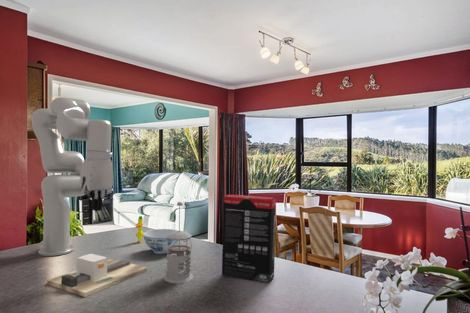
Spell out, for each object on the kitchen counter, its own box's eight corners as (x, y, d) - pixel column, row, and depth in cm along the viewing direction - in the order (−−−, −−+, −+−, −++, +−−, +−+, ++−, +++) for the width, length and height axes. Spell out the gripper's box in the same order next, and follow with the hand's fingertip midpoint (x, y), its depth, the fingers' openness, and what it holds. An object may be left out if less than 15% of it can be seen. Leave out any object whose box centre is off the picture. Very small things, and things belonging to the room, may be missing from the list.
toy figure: (140, 244, 142) (140, 218, 143) (132, 244, 143) (132, 217, 143) (145, 240, 149) (146, 215, 149) (138, 240, 150) (138, 215, 150)
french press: (157, 280, 102) (158, 202, 102) (176, 268, 113) (177, 198, 113) (183, 285, 98) (185, 204, 99) (201, 272, 109) (202, 200, 109)
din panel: (47, 283, 98) (47, 272, 98) (111, 261, 119) (111, 252, 119) (85, 297, 89) (85, 284, 89) (146, 270, 110) (146, 260, 110)
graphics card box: (275, 277, 106) (277, 196, 106) (271, 285, 100) (272, 198, 100) (227, 270, 112) (229, 193, 112) (220, 277, 105) (222, 195, 105)
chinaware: (187, 250, 135) (187, 232, 135) (161, 259, 123) (161, 239, 123) (162, 244, 143) (162, 227, 143) (135, 252, 131) (135, 234, 131)
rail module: (76, 276, 101) (77, 257, 101) (90, 271, 105) (90, 253, 105) (94, 281, 97) (95, 262, 97) (108, 276, 101) (108, 257, 101)
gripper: (109, 155, 116) (107, 205, 116) (70, 155, 103) (69, 211, 103) (123, 156, 112) (121, 208, 112) (85, 156, 99) (83, 215, 99)
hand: (96, 210), depth 108 cm, fingers closed
